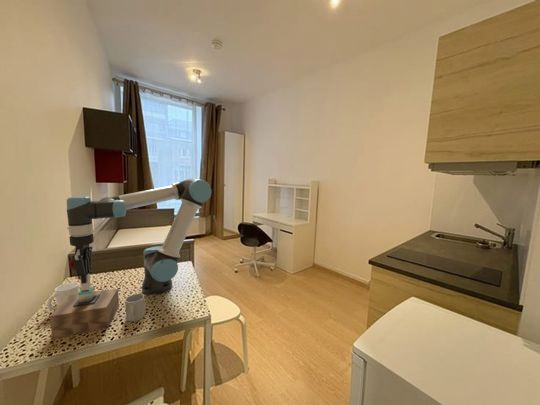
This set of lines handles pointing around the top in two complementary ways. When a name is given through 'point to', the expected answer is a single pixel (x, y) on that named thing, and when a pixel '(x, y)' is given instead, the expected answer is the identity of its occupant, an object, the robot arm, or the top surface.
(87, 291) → the peg
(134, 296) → the cup
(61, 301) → the mug
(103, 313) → the socket block
